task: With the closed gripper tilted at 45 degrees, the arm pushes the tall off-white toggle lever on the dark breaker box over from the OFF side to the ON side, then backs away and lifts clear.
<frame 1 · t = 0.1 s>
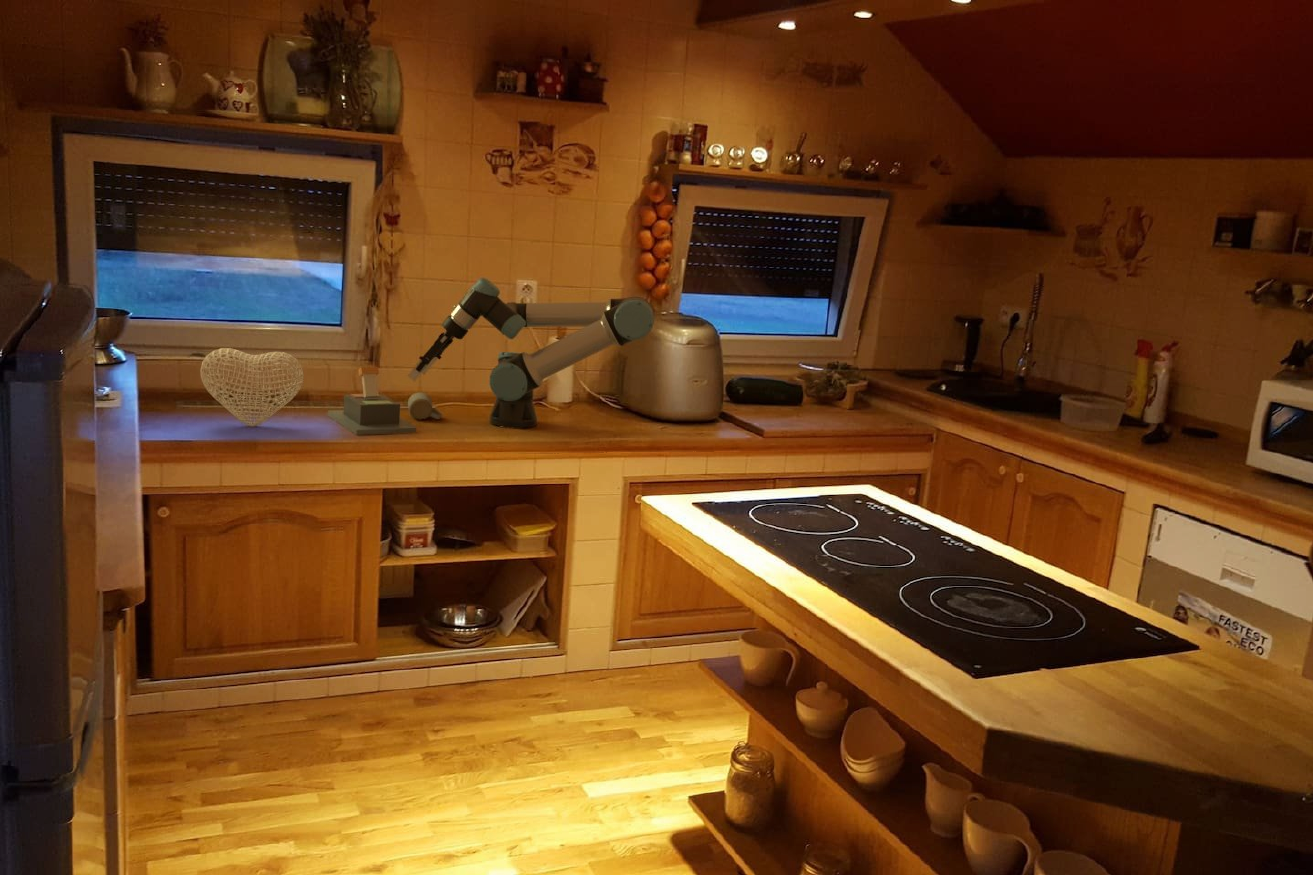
hand: (416, 375, 334), 15 cm above the counter, tool tilted 35°, fingers open, 13 cm apart
breaker lever: (369, 382, 331), point 12 cm above the counter, hinge at -25.0°
heart: (251, 427, 315), on the counter
ceramic mug: (424, 419, 347), on the counter
breaker box: (370, 423, 332), on the counter
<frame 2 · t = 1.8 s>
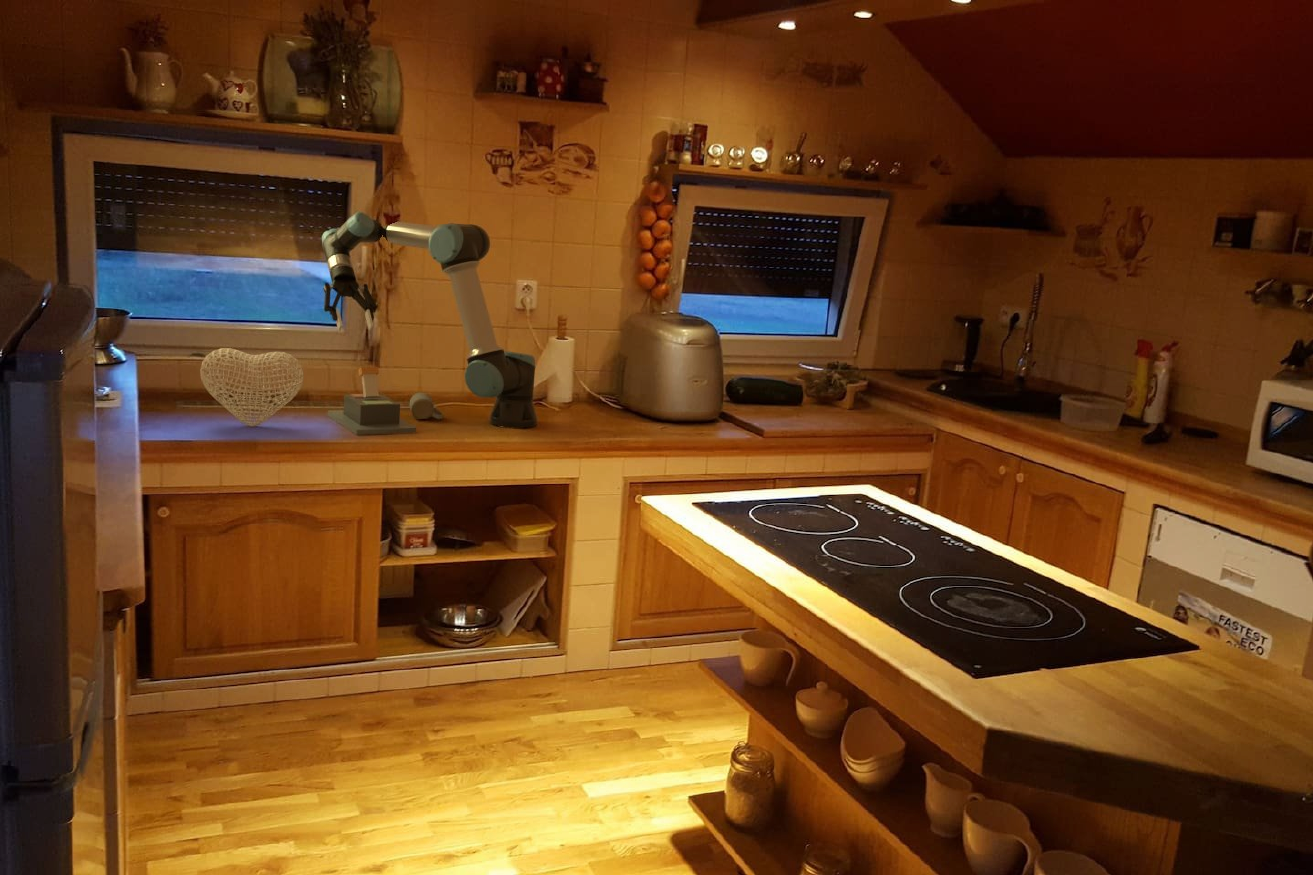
hand: (356, 328, 340), 27 cm above the counter, tool tilted 45°, fingers open, 9 cm apart
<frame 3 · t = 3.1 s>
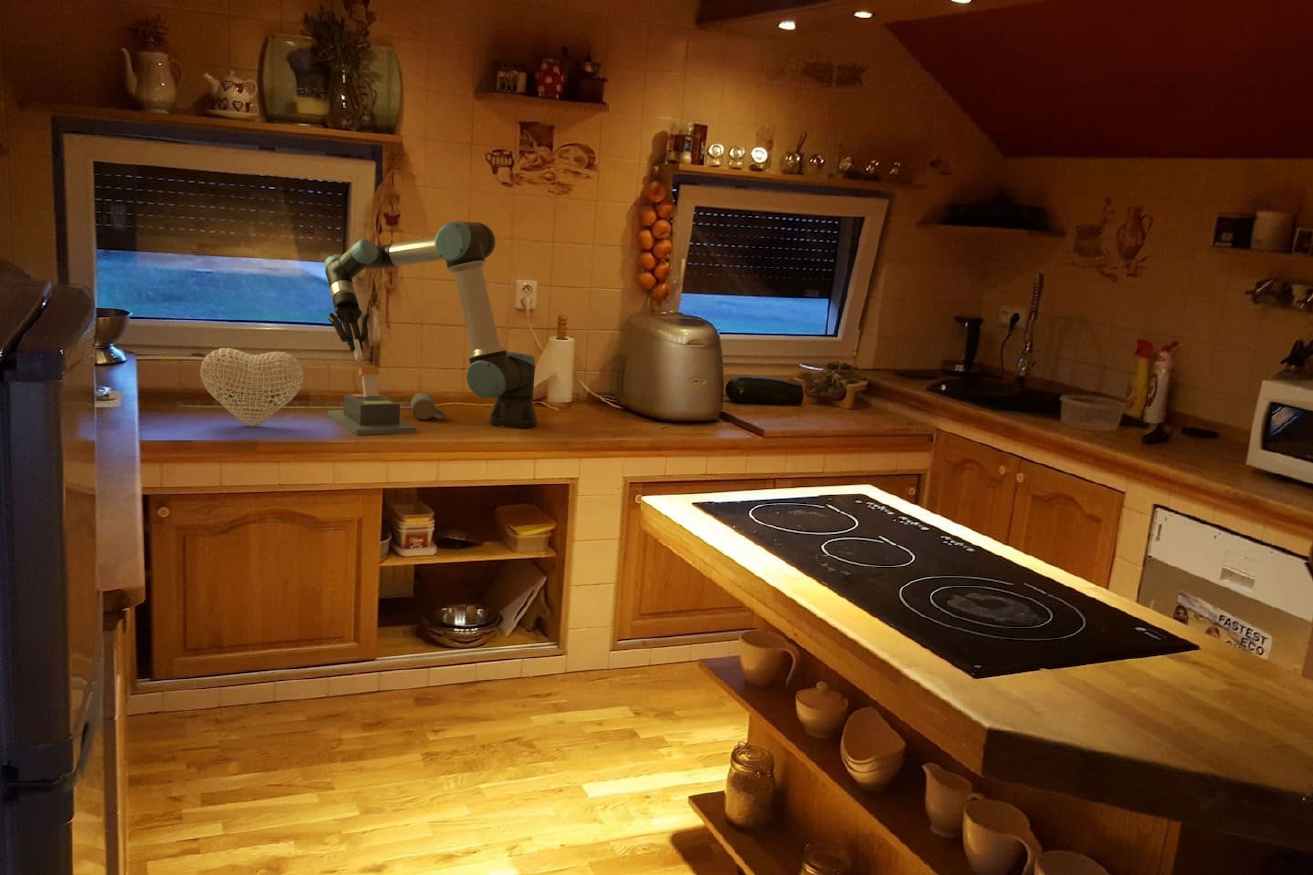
hand: (359, 358, 338), 18 cm above the counter, tool tilted 45°, fingers closed
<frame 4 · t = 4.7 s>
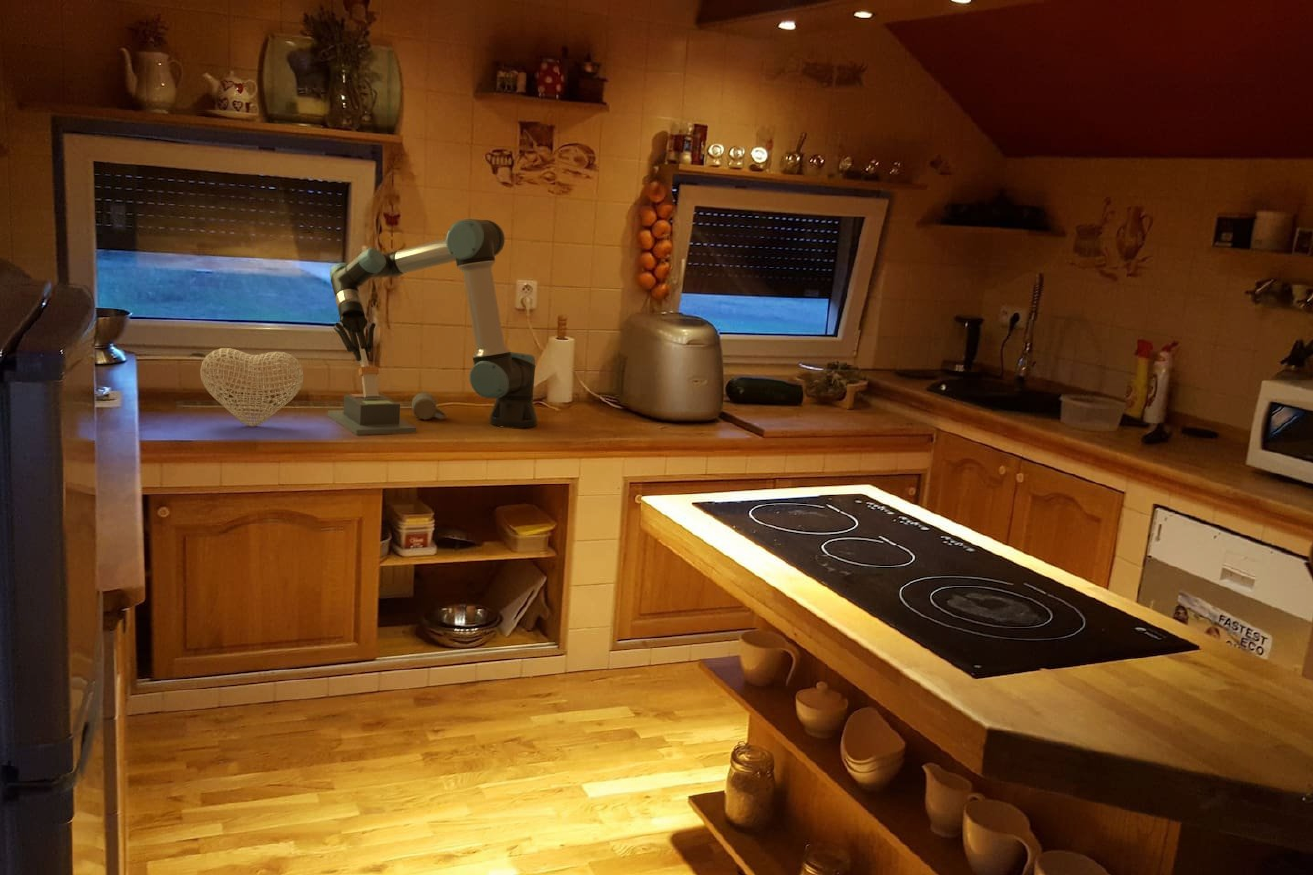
hand: (365, 368, 333), 16 cm above the counter, tool tilted 45°, fingers closed
breaker lever: (369, 382, 331), point 12 cm above the counter, hinge at -25.0°, touching gripper
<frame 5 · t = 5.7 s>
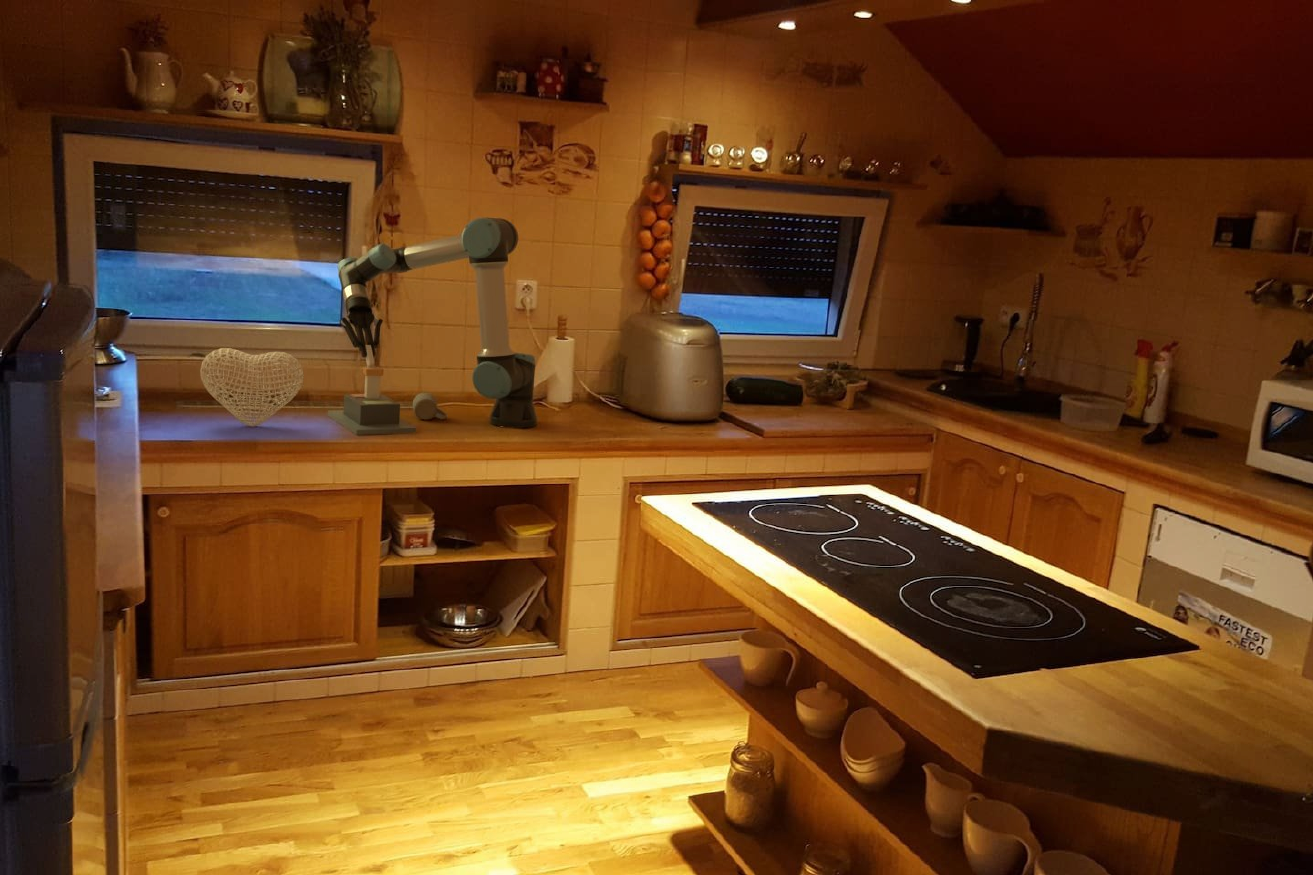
hand: (371, 365, 329), 18 cm above the counter, tool tilted 45°, fingers closed
breaker lever: (372, 382, 329), point 13 cm above the counter, hinge at 3.5°, touching gripper
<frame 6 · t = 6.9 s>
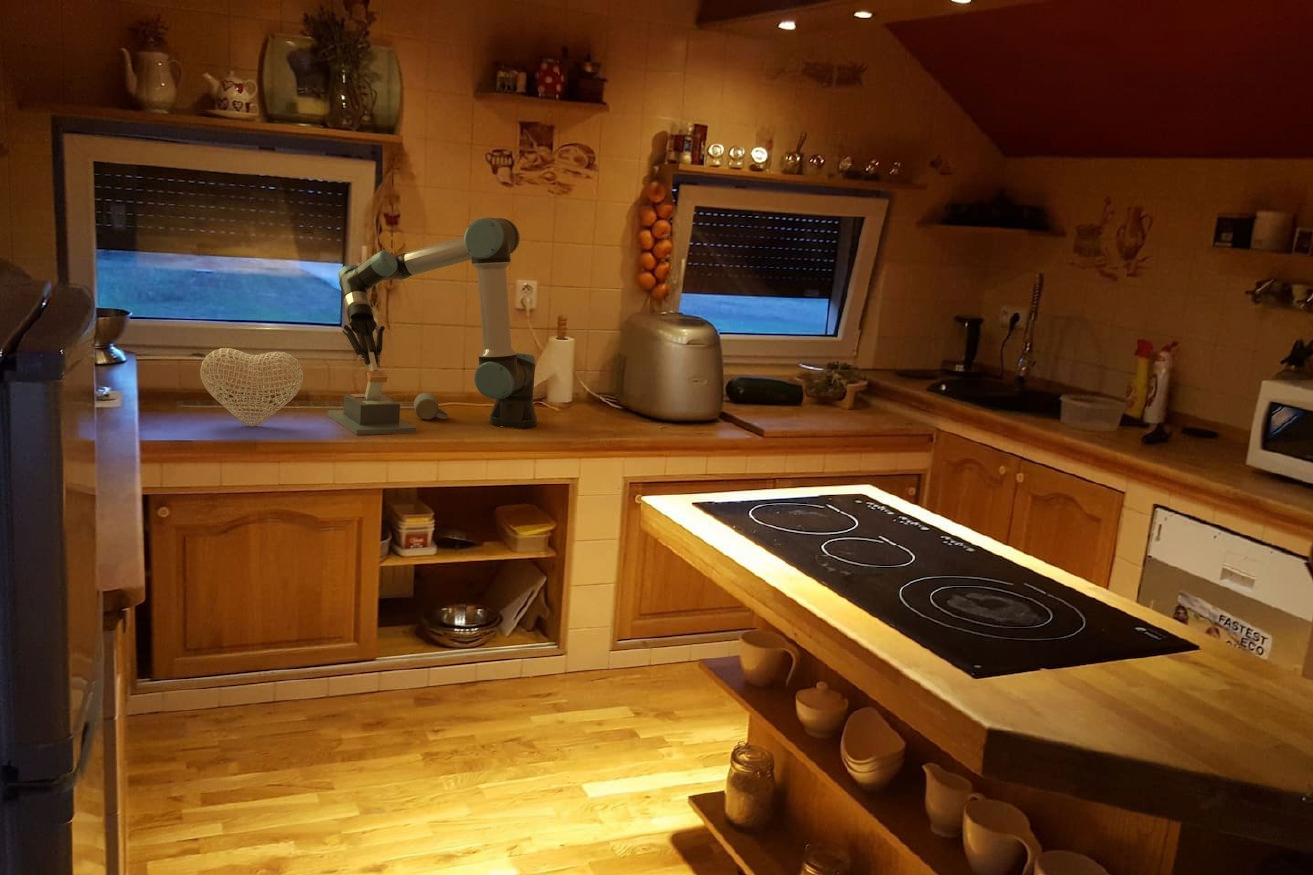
hand: (374, 372, 327), 16 cm above the counter, tool tilted 45°, fingers closed
breaker lever: (374, 385, 328), point 12 cm above the counter, hinge at 27.7°, touching gripper
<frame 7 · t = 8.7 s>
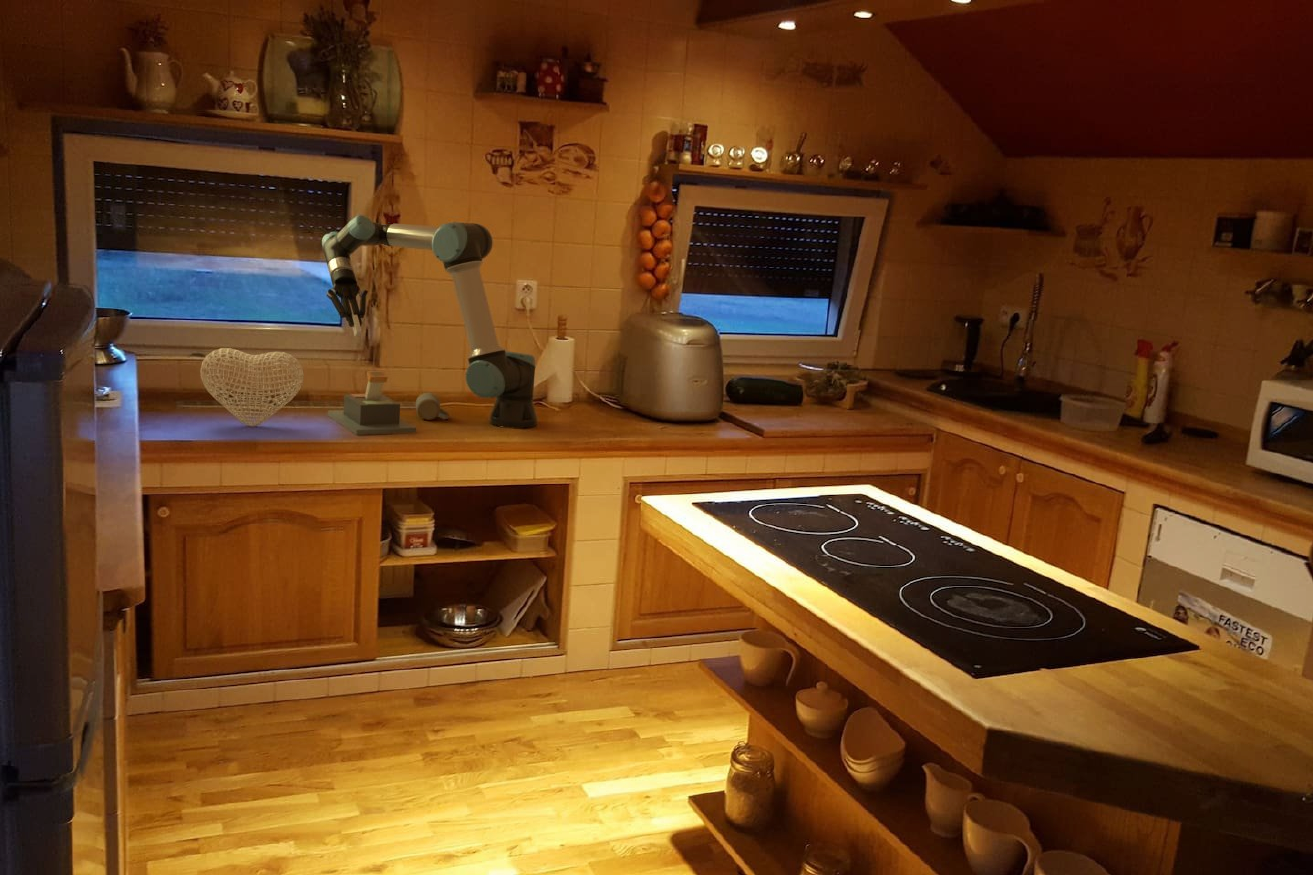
hand: (358, 334, 338), 25 cm above the counter, tool tilted 45°, fingers closed
breaker lever: (374, 385, 328), point 12 cm above the counter, hinge at 27.8°
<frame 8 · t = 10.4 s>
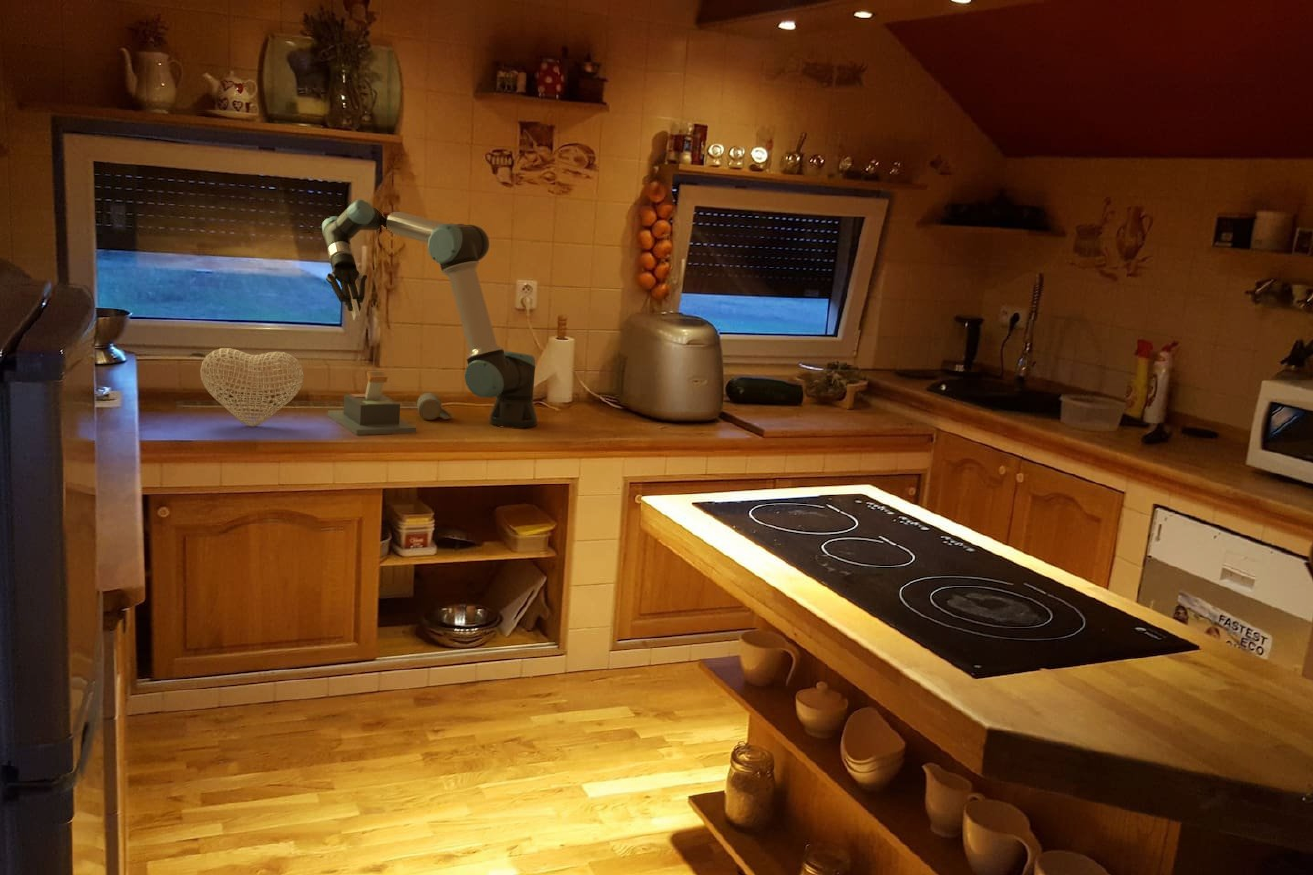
hand: (357, 318, 339), 30 cm above the counter, tool tilted 45°, fingers closed
at the end: breaker lever at +28° (first picture: -25°); ceramic mug moved 2.9 cm from its start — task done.
